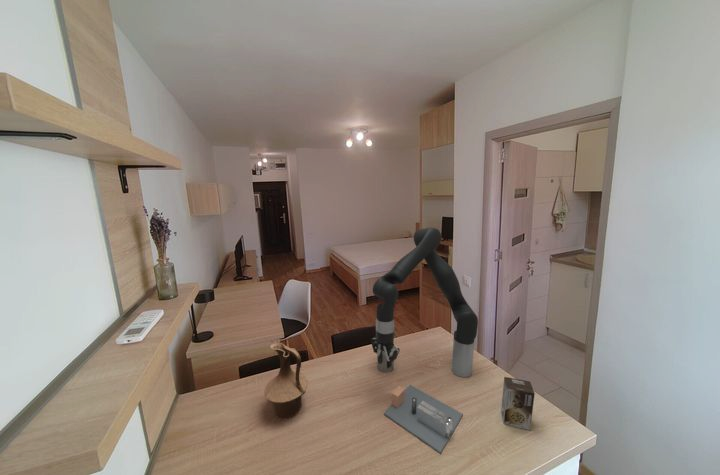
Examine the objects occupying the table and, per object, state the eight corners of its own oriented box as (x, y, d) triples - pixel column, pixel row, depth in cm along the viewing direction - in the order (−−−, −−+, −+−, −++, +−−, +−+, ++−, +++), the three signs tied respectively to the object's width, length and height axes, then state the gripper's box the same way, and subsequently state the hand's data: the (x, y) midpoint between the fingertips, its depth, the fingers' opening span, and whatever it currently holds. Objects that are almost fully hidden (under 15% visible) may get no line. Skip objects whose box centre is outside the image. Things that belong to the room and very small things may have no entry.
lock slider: (391, 404, 110) (391, 392, 108) (398, 396, 113) (398, 385, 112) (397, 408, 108) (397, 396, 106) (404, 400, 111) (404, 389, 110)
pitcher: (317, 399, 114) (314, 340, 108) (292, 432, 99) (287, 366, 93) (285, 386, 121) (281, 331, 115) (257, 416, 106) (250, 354, 100)
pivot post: (410, 412, 106) (411, 399, 104) (413, 409, 107) (413, 396, 106) (414, 415, 104) (415, 401, 103) (417, 412, 106) (417, 399, 104)
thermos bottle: (393, 362, 136) (394, 312, 130) (392, 373, 128) (393, 320, 123) (378, 361, 138) (378, 311, 132) (376, 371, 130) (376, 319, 124)
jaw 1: (419, 415, 104) (420, 403, 103) (422, 412, 106) (422, 400, 104) (450, 435, 96) (451, 422, 95) (452, 431, 97) (453, 418, 96)
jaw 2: (416, 419, 102) (417, 407, 101) (419, 416, 104) (419, 404, 103) (448, 439, 94) (448, 426, 93) (450, 435, 96) (451, 422, 95)
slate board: (409, 386, 120) (409, 384, 120) (462, 415, 105) (462, 414, 105) (383, 414, 106) (383, 412, 106) (440, 454, 90) (440, 452, 90)
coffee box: (526, 416, 104) (530, 381, 101) (530, 431, 98) (535, 393, 95) (500, 410, 107) (504, 375, 104) (503, 424, 101) (507, 387, 98)
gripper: (365, 326, 111) (366, 362, 114) (394, 338, 101) (393, 377, 105) (376, 319, 116) (376, 353, 120) (404, 330, 107) (403, 367, 110)
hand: (384, 364), depth 112 cm, fingers open, 3 cm apart
